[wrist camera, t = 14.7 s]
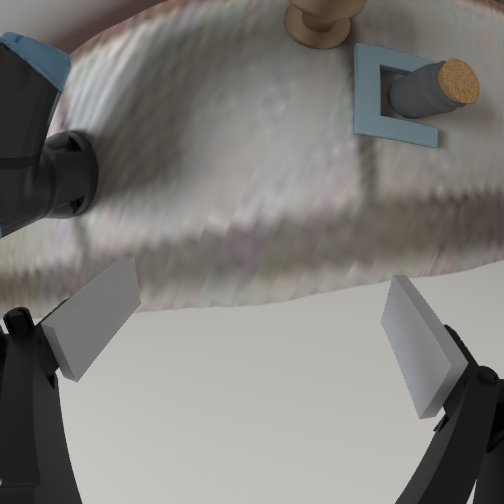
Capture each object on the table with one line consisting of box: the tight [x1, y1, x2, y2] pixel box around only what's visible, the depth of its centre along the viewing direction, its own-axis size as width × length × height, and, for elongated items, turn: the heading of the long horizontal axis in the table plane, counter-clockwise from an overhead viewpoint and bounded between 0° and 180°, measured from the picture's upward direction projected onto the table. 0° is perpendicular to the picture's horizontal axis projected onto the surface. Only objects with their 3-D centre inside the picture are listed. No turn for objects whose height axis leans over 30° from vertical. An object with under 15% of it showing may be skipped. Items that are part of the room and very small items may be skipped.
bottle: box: [388, 59, 479, 118], centre depth 24 cm, size 6×6×15 cm
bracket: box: [353, 42, 438, 148], centre depth 30 cm, size 12×13×2 cm
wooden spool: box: [285, 0, 367, 49], centre depth 23 cm, size 9×9×11 cm
